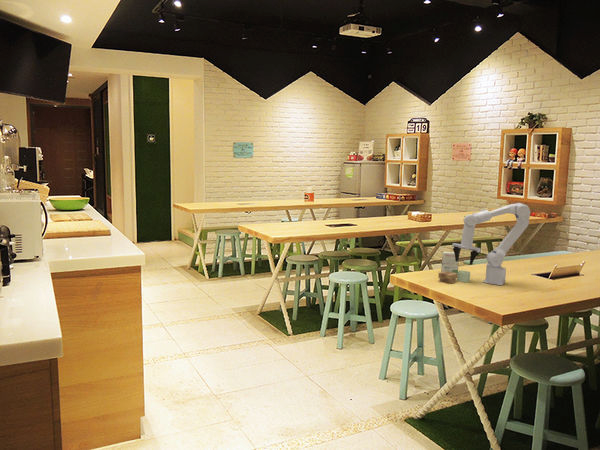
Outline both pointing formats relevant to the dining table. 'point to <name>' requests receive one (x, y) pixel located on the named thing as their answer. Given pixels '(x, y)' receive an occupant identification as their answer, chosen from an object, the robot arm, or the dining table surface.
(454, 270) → the ink box
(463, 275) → the mint block
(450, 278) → the top tile
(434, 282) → the dining table surface
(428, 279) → the dining table surface
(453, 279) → the bottom tile
